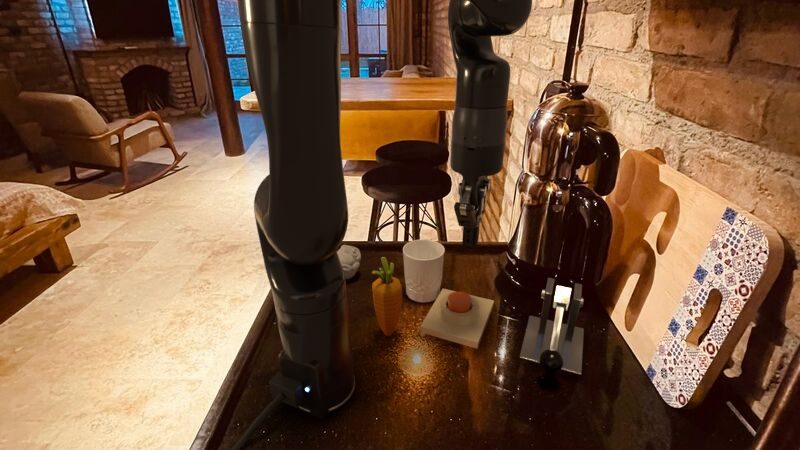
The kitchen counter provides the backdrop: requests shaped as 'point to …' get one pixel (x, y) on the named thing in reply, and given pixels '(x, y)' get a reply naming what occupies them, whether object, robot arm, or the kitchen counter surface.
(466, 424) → the kitchen counter surface
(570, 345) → the bracket
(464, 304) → the button
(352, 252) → the frog figurine
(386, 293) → the carrot
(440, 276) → the white cup
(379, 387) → the kitchen counter surface
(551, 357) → the lever
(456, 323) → the control block
